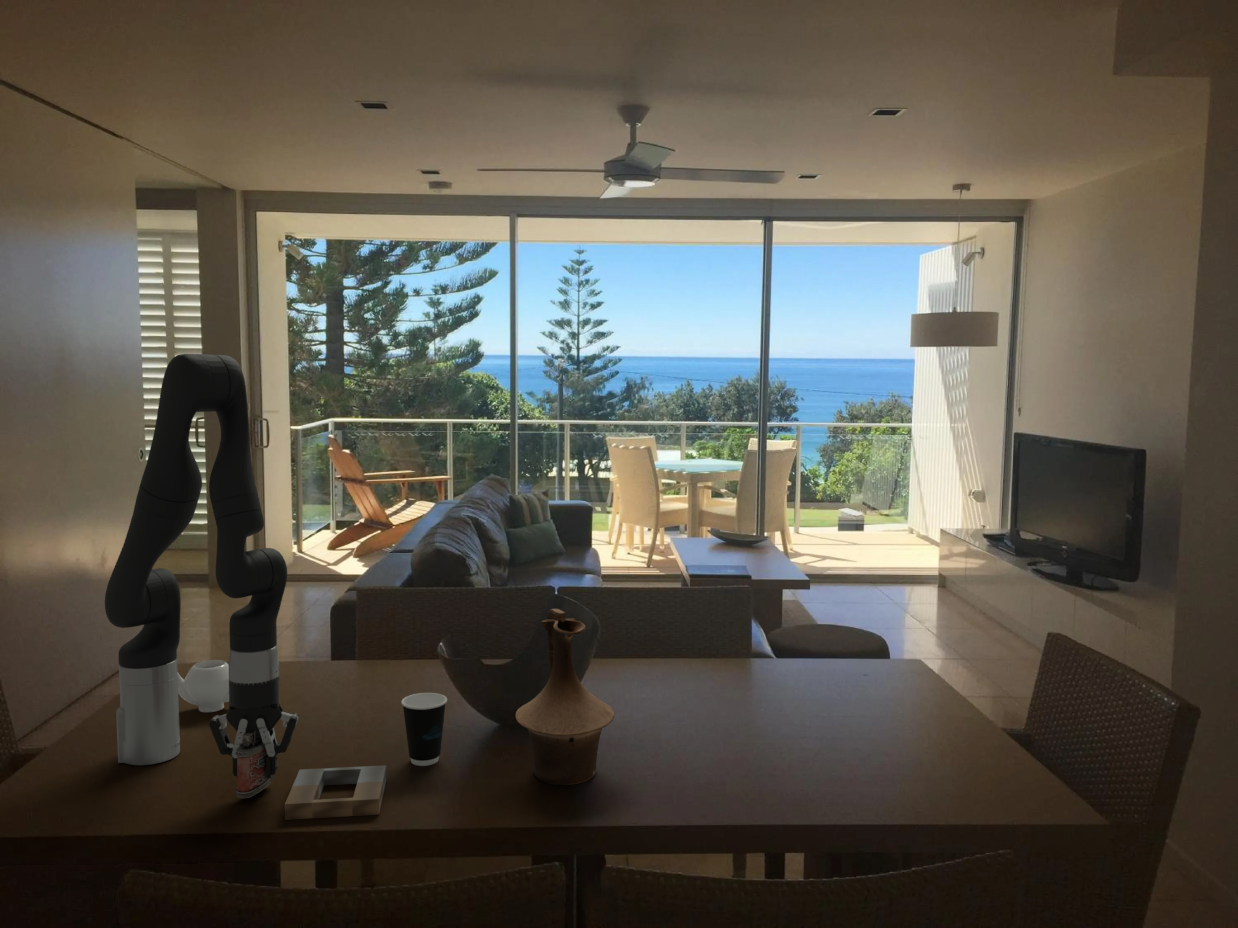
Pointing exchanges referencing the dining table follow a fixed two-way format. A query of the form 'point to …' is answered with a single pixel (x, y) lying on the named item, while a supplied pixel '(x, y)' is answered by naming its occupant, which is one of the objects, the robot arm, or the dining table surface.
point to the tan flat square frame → (364, 801)
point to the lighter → (251, 766)
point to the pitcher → (564, 713)
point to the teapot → (206, 685)
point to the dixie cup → (424, 726)
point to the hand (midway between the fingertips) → (255, 776)
